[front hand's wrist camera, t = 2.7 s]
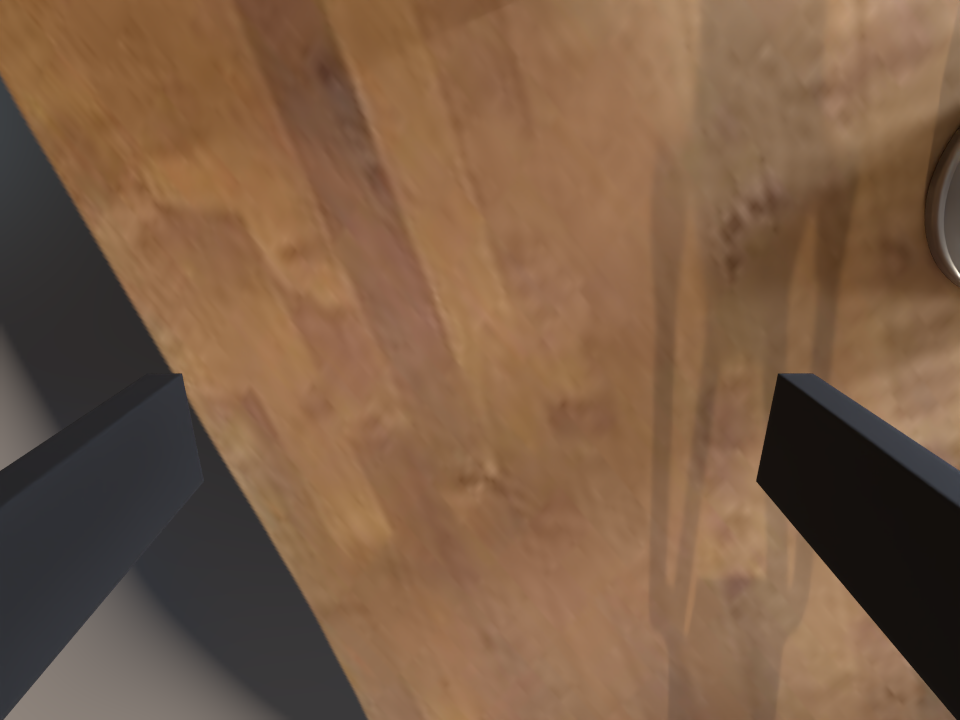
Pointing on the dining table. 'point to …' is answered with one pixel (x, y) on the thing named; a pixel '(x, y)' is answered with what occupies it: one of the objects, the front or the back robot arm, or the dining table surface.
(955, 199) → the front robot arm
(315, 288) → the dining table surface
